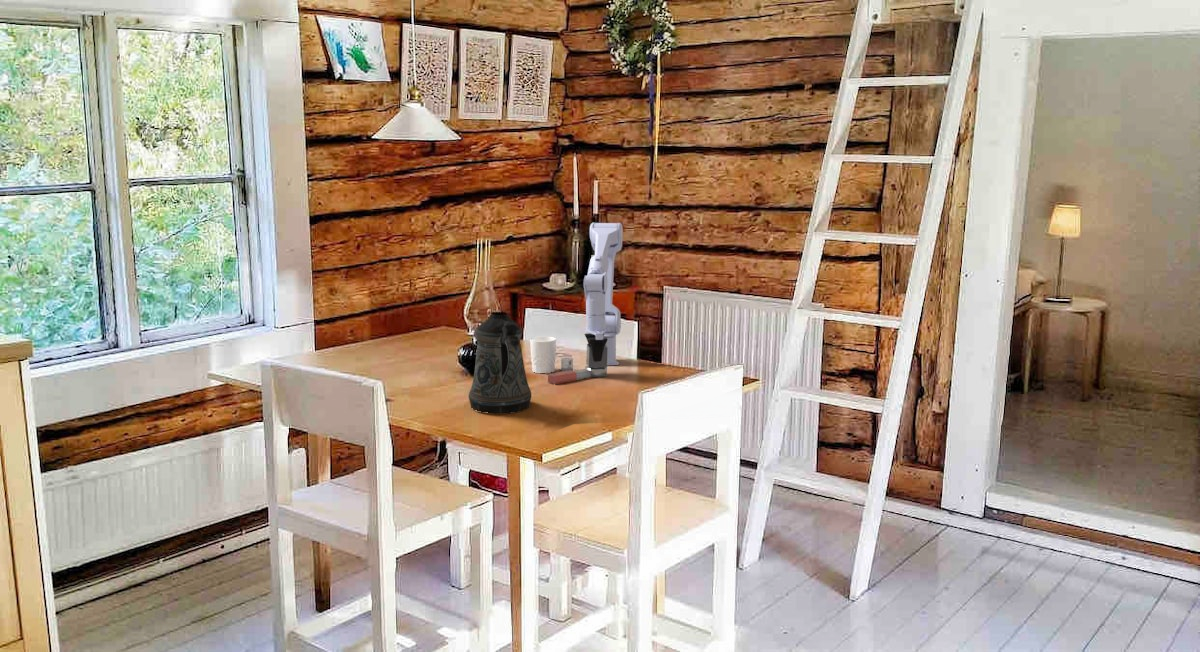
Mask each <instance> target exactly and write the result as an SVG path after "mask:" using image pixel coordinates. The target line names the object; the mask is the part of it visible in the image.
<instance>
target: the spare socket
mask: <svg viewBox="0 0 1200 652" xmlns="http://www.w3.org/2000/svg"><path fill="white" fill-rule="evenodd" d="M560 362H561V363H560V370H561V371H560V372H563V371H569V370H571V371H574V359H573V358H572V357H562V358H561V359H560Z"/></svg>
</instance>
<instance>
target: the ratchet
mask: <svg viewBox="0 0 1200 652" xmlns="http://www.w3.org/2000/svg"><path fill="white" fill-rule="evenodd" d="M606 375H607V376H608V367H607V368H589V367H588V365H586V366H585V368H583V369H577V370H576V369H575V370H573V371H571V370H569V371H563V372H561V371H558V372H552V373H547V383H548V382H549V383H548V384H551V383H552V384H551V385H554V384H555V385H559V383H561V384H565V383H564V382H566V383H570V381H571V382H575V380H577V381H580V380H585V379H584V378H586V379H590V378H589V377H601V378H605V377H607V376H606ZM604 376H605V377H604ZM579 379H580V380H579Z"/></svg>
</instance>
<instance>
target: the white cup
mask: <svg viewBox="0 0 1200 652" xmlns="http://www.w3.org/2000/svg"><path fill="white" fill-rule="evenodd" d="M529 344H530V345H529V346H530V347H529V348H530V360H531V369H532V370H531V371H532V372H533V373H534V372H535V374H540V373H545V374H552V373H555V370H556V364H555V363H556V355H557V354H556V352H557V348H556V347H557V339H556V338H555V337H553V336H534V337H532V338H530V339H529ZM551 372H552V373H551Z"/></svg>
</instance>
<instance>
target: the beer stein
mask: <svg viewBox="0 0 1200 652" xmlns="http://www.w3.org/2000/svg"><path fill="white" fill-rule="evenodd" d="M522 334H523V328H521V326H520V325H519V324H518V323H516V322H515V321H514V320H513V319H512V318H511V317H509V314H508V312H505V311H495V312H490V315H489V317H488V318H487V319H485V321H483V322H482V323H481V324H479V325H478V326H477V328H476V329H475V330H474V336H475V338H476V340H477V347H476V354H475V355H476V356H475V363H474V364H475V365H474V373H473V379H472V384H471V387H470V389H469V390H470V391H469V392H468V400H469V404H470V408H473V409H475V410H477V411H481V412H488V413H507V414H512V413H511V412H515V413H519V412H518V411H520V412H523V411H525V410H524V409H526V410H527V409H529V406H530V407H531V400H532V391H531V388H530V386H529V382H528V378H527V376H526V375H527V374H526V369H525V363H524V357H523V352H522V351H523V350H522V344H521V338H522ZM522 410H523V411H522Z"/></svg>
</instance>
